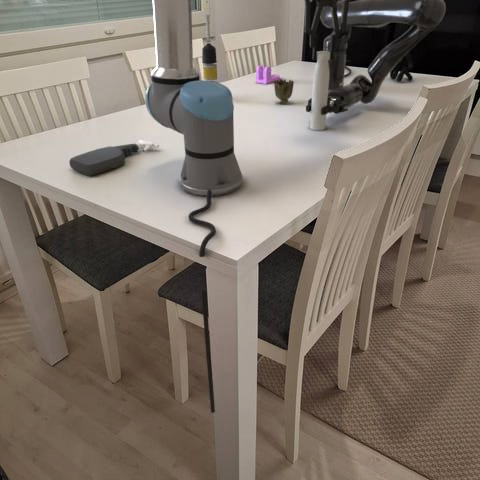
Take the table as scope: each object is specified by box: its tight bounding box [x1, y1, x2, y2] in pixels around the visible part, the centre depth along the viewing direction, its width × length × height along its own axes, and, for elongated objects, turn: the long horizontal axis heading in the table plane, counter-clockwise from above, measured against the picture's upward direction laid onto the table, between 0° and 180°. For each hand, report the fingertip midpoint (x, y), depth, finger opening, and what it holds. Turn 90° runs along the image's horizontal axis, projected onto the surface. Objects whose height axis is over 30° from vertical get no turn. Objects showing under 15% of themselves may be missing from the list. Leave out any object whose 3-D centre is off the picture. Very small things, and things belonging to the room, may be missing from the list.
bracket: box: [255, 65, 281, 85], centre depth 202 cm, size 13×6×7 cm, turn 143°
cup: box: [273, 78, 295, 105], centre depth 169 cm, size 8×7×8 cm
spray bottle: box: [68, 139, 160, 177], centre depth 124 cm, size 3×11×24 cm
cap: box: [316, 50, 331, 61], centre depth 134 cm, size 4×4×2 cm
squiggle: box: [389, 52, 414, 83], centre depth 198 cm, size 11×10×15 cm
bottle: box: [309, 59, 330, 131], centre depth 140 cm, size 5×5×23 cm
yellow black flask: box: [201, 14, 219, 83], centre depth 171 cm, size 6×6×30 cm
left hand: (322, 58), depth 134 cm, fingers closed on cap, 4 cm apart
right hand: (314, 110), depth 140 cm, fingers closed on bottle, 5 cm apart
